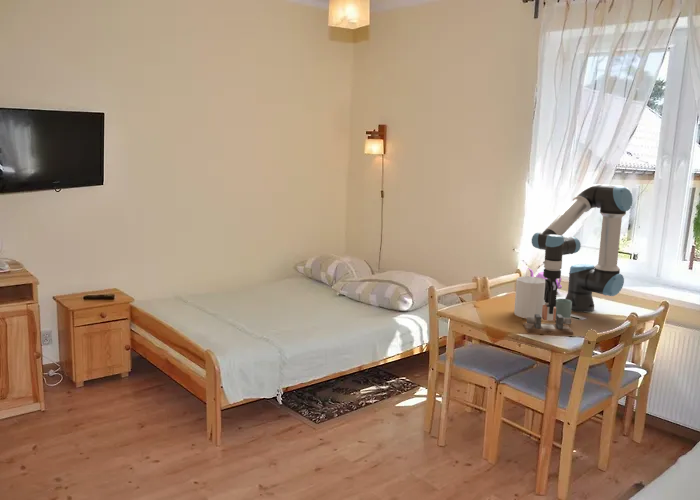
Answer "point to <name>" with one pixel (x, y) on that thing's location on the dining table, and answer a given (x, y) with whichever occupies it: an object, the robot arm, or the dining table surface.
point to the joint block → (544, 313)
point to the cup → (563, 307)
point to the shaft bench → (548, 325)
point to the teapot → (540, 275)
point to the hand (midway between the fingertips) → (548, 318)
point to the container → (529, 296)
